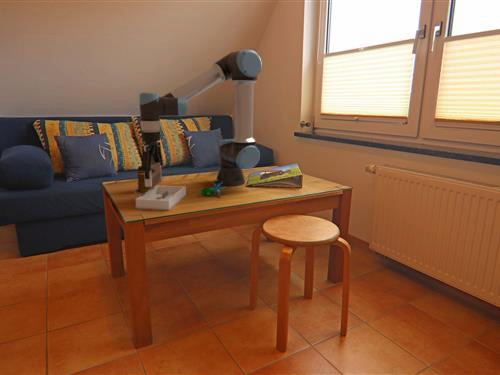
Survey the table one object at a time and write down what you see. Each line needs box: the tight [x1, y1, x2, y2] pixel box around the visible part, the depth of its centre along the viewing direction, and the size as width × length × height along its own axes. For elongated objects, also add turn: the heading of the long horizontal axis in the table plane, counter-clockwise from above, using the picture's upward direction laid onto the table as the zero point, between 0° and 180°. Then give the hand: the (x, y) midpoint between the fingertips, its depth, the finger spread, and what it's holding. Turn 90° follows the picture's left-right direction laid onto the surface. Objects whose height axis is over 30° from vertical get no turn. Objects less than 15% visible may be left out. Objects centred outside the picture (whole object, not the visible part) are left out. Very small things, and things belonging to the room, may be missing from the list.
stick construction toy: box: [200, 182, 227, 199], centre depth 159 cm, size 12×7×8 cm
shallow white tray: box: [135, 184, 187, 211], centre depth 150 cm, size 14×22×4 cm, turn 173°
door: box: [145, 161, 162, 188], centre depth 147 cm, size 4×10×9 cm, turn 173°
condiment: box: [133, 166, 151, 194], centre depth 164 cm, size 7×8×12 cm
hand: (153, 183), depth 149 cm, fingers closed on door, 10 cm apart
